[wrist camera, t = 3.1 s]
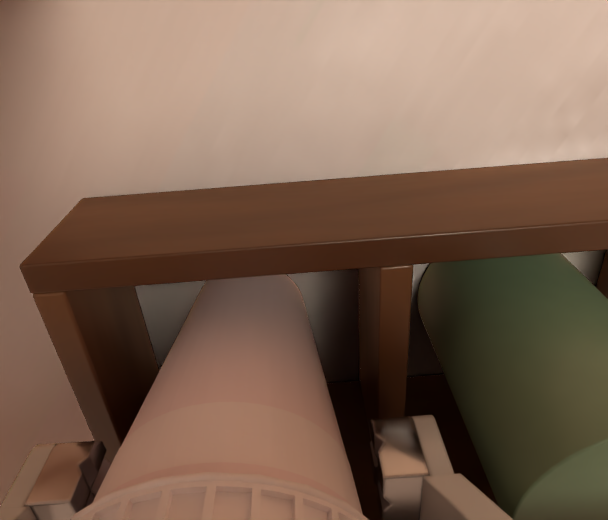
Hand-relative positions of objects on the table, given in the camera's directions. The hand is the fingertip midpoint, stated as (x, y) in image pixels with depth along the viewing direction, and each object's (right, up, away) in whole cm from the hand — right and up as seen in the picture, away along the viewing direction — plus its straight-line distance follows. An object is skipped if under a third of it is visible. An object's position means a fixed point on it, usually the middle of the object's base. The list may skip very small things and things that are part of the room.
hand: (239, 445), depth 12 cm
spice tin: (+8, +3, +5) cm, 10 cm away
